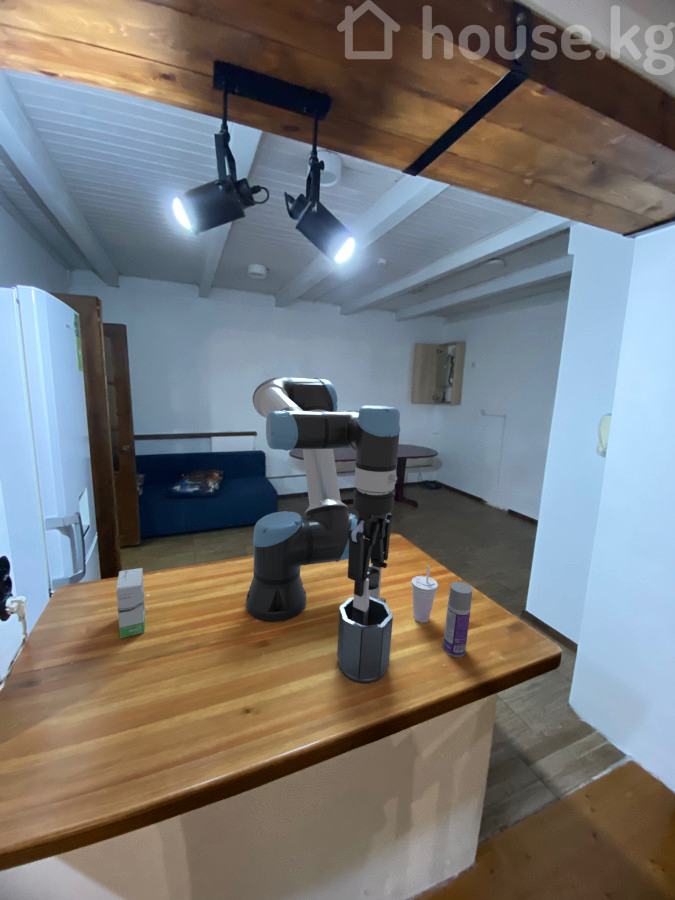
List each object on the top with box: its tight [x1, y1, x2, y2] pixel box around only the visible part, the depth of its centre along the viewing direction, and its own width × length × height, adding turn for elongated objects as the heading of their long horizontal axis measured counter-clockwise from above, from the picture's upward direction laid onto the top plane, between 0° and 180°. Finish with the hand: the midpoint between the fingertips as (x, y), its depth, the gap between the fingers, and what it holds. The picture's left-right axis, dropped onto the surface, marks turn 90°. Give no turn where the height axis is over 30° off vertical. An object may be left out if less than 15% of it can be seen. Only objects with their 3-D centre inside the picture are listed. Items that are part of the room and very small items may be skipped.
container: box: [442, 581, 473, 658], centre depth 79 cm, size 5×5×15 cm
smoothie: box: [410, 565, 439, 624], centre depth 89 cm, size 6×6×14 cm
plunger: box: [362, 567, 380, 626], centre depth 73 cm, size 7×7×17 cm
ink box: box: [115, 567, 146, 639], centre depth 82 cm, size 9×5×12 cm, turn 27°
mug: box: [336, 596, 394, 685], centre depth 75 cm, size 10×13×12 cm
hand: (366, 602), depth 72 cm, fingers closed on plunger, 4 cm apart
